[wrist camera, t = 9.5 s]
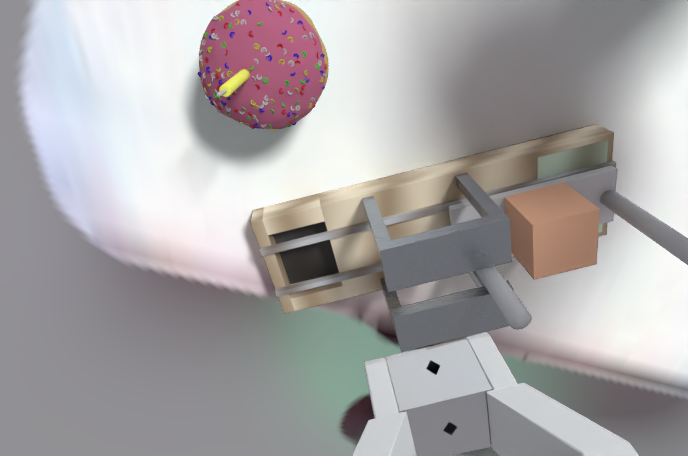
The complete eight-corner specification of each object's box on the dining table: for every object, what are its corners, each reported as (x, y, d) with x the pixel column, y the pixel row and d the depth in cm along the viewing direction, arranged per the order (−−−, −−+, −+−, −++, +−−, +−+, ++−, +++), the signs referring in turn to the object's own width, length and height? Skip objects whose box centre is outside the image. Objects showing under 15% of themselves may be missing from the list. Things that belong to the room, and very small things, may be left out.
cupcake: (225, 120, 36) (199, 176, 26) (194, 2, 32) (149, 13, 22) (331, 103, 37) (348, 153, 26) (314, -16, 33) (326, -14, 22)
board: (595, 124, 40) (618, 134, 37) (590, 222, 45) (610, 237, 42) (252, 210, 40) (250, 226, 38) (284, 297, 45) (284, 317, 43)
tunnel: (466, 172, 38) (509, 218, 31) (475, 264, 43) (515, 324, 35) (361, 198, 38) (379, 251, 31) (382, 287, 43) (401, 352, 35)
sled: (612, 165, 38) (737, 236, 28) (608, 216, 41) (721, 300, 30) (447, 206, 38) (507, 292, 28) (453, 254, 41) (511, 351, 30)
